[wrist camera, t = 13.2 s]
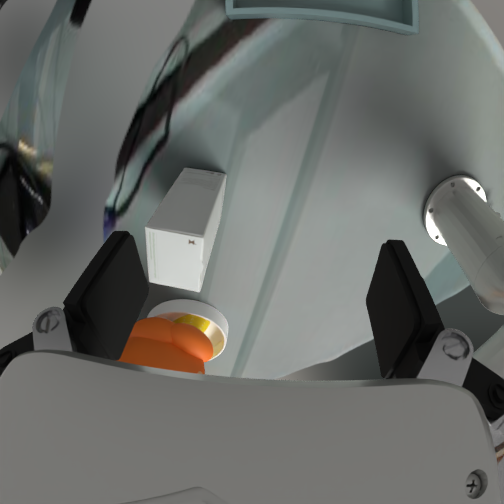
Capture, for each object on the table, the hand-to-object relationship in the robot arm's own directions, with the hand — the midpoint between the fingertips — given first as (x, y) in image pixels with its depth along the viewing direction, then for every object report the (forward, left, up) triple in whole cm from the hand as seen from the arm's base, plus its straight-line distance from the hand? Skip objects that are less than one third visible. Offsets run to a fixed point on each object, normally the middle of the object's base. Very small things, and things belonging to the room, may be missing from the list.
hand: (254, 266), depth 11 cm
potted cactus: (+20, +42, -31) cm, 56 cm away
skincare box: (+10, +12, -31) cm, 34 cm away
